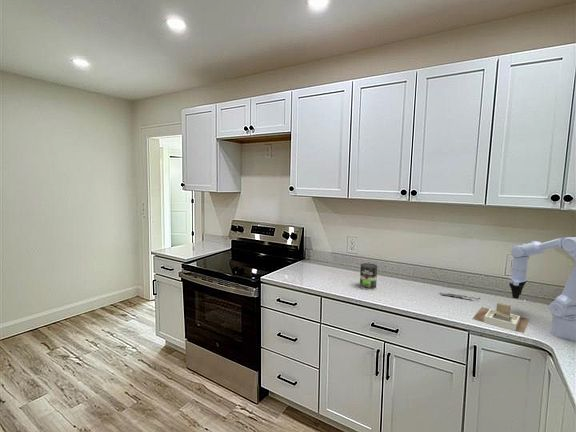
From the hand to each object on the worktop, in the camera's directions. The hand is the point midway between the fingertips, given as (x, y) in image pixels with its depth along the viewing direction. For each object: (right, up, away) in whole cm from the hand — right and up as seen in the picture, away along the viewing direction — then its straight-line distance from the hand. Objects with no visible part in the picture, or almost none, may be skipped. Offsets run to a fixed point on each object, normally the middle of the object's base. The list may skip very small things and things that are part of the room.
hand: (516, 296), depth 154 cm
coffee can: (-63, -5, +40) cm, 75 cm away
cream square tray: (-13, -11, -8) cm, 19 cm away
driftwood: (-14, -8, +25) cm, 30 cm away
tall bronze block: (-13, -9, -9) cm, 18 cm away
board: (-11, -10, -5) cm, 16 cm away
